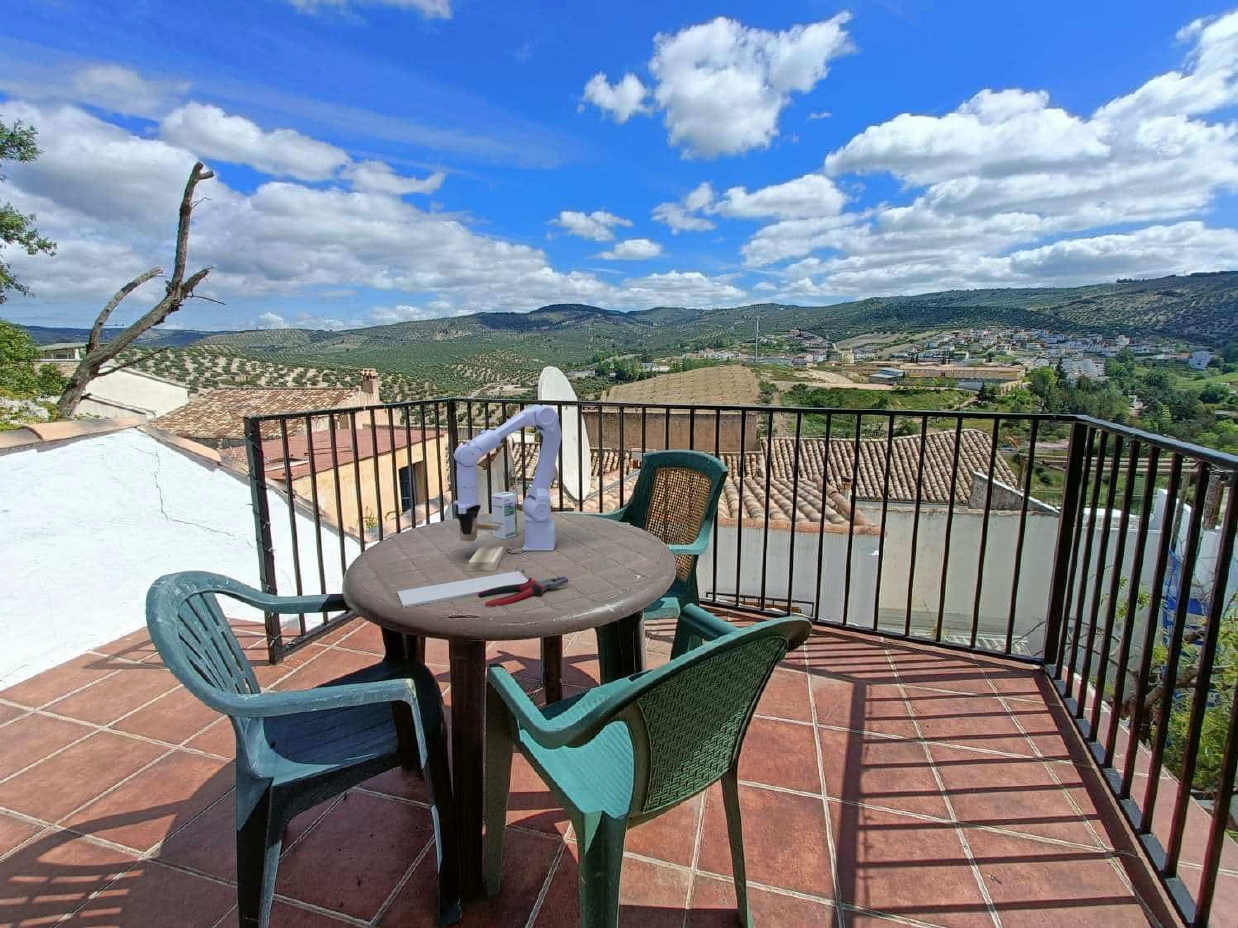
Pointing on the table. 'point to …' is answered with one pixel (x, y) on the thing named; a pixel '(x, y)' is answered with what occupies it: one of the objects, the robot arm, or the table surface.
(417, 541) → the table surface
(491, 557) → the plank
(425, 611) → the table surface
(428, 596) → the baseboard
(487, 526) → the wooden mallet
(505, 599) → the pliers
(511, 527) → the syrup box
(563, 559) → the table surface
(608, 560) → the table surface
